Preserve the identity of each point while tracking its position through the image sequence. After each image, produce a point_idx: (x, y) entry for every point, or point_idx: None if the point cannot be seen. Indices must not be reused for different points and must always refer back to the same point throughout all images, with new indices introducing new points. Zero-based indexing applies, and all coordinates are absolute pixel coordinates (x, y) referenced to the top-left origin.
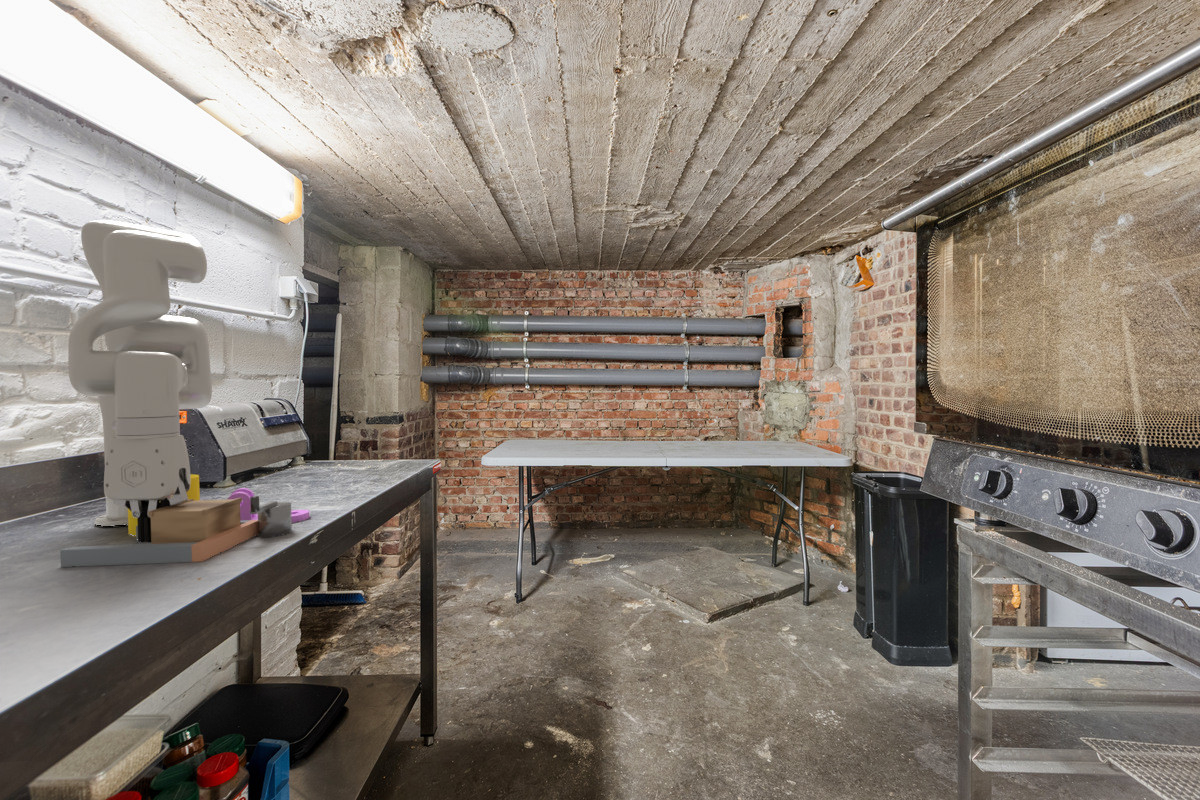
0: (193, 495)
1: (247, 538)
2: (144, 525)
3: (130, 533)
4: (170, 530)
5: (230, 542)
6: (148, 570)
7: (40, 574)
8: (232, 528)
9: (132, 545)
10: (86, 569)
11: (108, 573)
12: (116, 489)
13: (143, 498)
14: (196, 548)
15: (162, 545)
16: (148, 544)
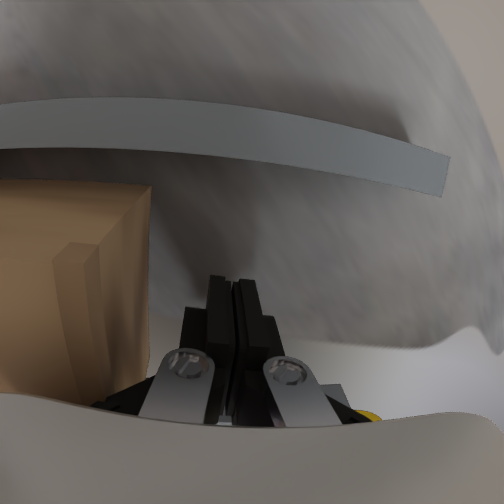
0: None
1: None
2: (225, 316)
3: (375, 418)
4: (28, 208)
5: None
6: (66, 32)
7: (422, 89)
8: None
9: (176, 134)
10: (312, 86)
11: (190, 15)
12: (460, 479)
13: (170, 421)
14: None
15: (36, 115)
16: (105, 138)
